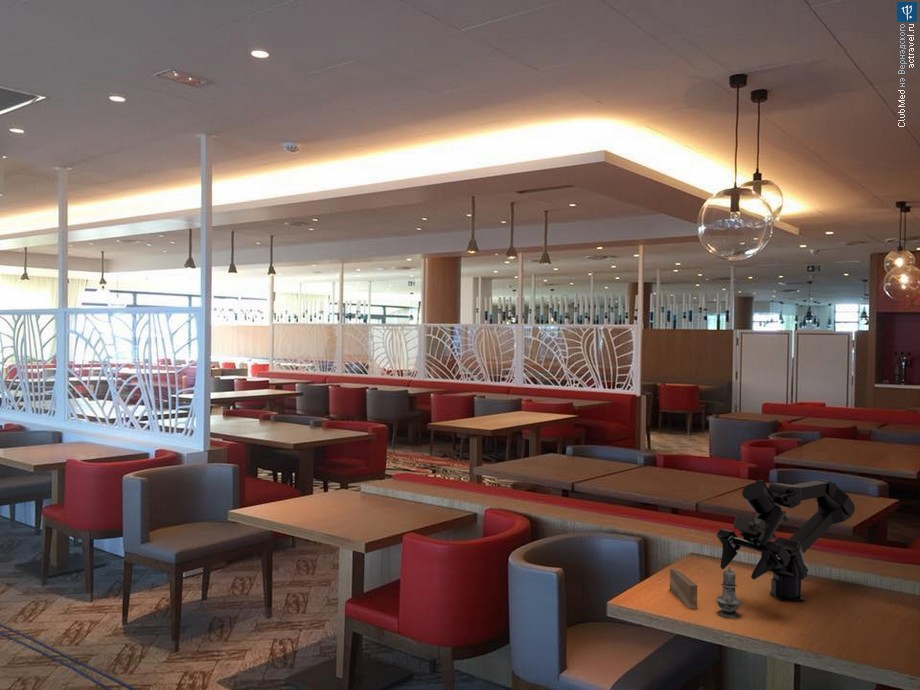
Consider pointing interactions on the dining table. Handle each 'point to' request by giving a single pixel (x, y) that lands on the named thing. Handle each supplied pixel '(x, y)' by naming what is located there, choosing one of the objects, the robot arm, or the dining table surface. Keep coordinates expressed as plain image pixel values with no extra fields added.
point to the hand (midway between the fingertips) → (736, 573)
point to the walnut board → (683, 588)
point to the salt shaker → (728, 596)
